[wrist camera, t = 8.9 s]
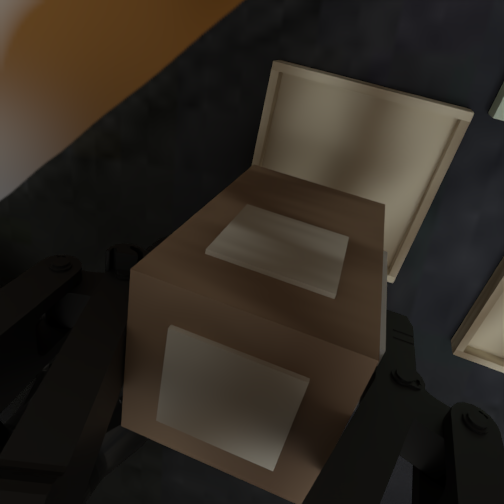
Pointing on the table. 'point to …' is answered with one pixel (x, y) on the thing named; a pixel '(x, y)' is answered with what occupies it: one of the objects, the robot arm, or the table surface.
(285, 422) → the letter block
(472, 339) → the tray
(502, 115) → the tray
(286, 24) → the table surface
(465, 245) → the table surface
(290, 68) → the tray
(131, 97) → the table surface
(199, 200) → the table surface
